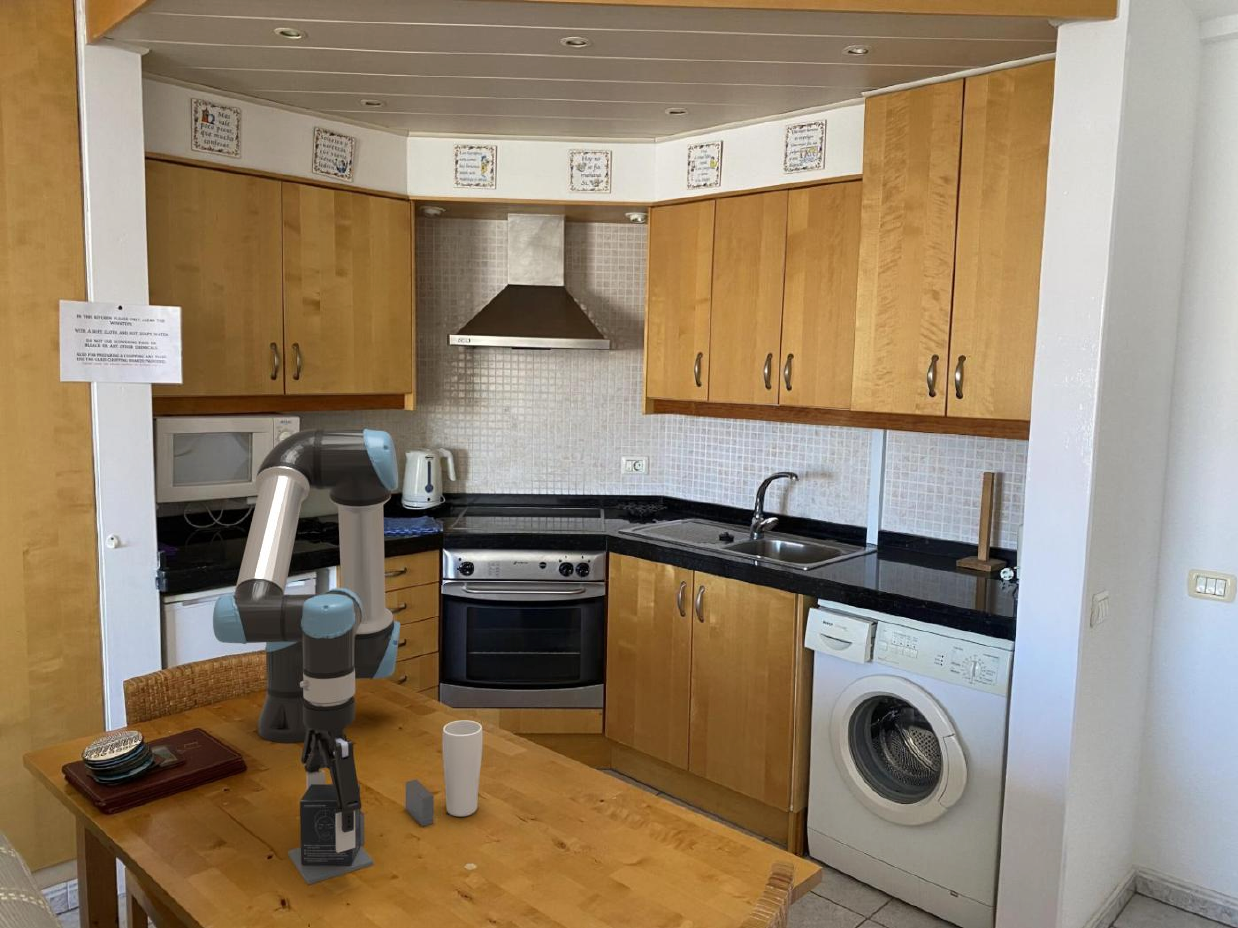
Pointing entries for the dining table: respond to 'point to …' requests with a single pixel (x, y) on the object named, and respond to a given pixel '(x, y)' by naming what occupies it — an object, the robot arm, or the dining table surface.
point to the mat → (328, 866)
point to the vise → (414, 805)
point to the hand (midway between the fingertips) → (330, 829)
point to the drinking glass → (462, 766)
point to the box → (323, 828)
